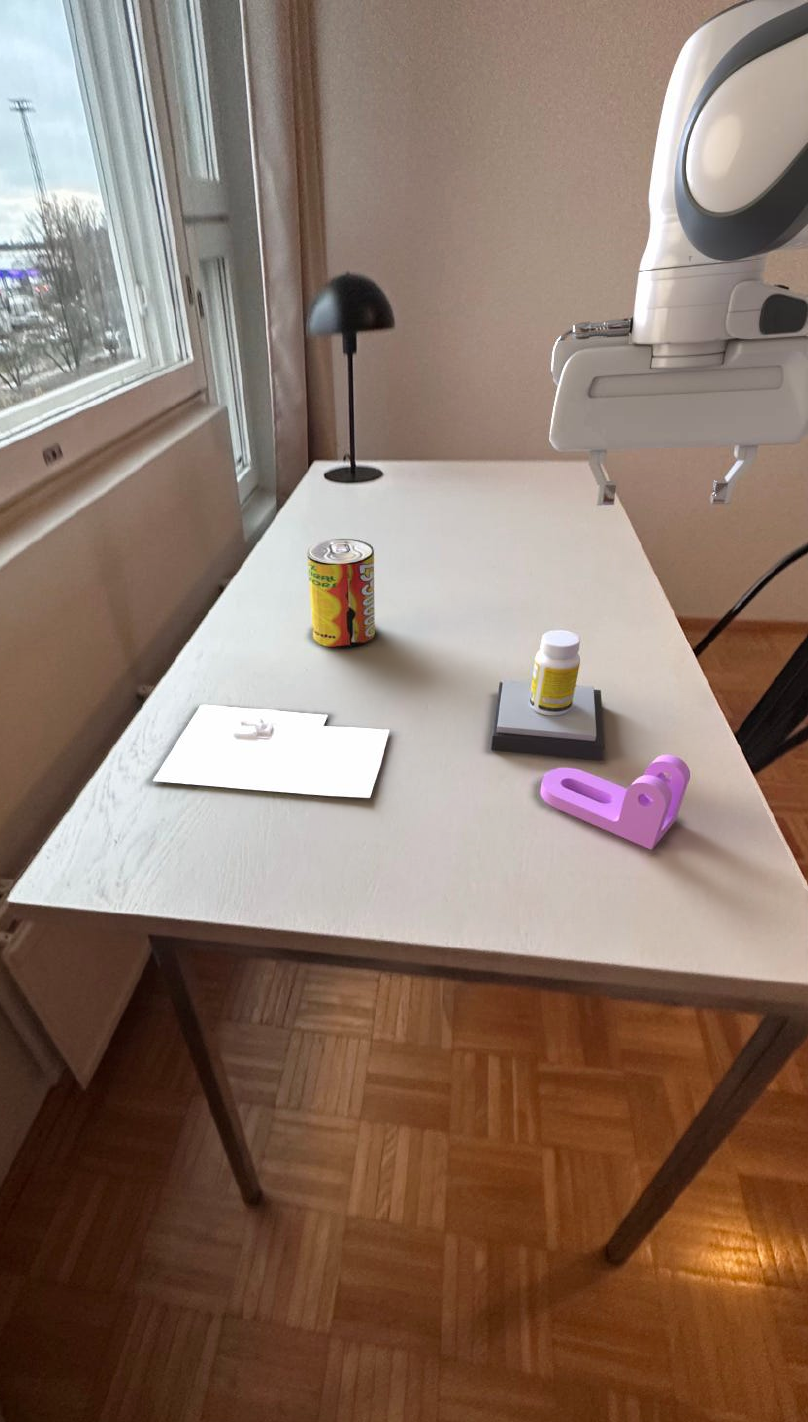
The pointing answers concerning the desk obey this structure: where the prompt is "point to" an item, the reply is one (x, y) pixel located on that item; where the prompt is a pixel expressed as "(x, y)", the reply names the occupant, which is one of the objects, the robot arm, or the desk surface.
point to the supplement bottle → (555, 673)
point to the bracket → (622, 799)
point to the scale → (548, 724)
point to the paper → (275, 753)
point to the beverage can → (342, 592)
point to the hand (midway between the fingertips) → (661, 503)
